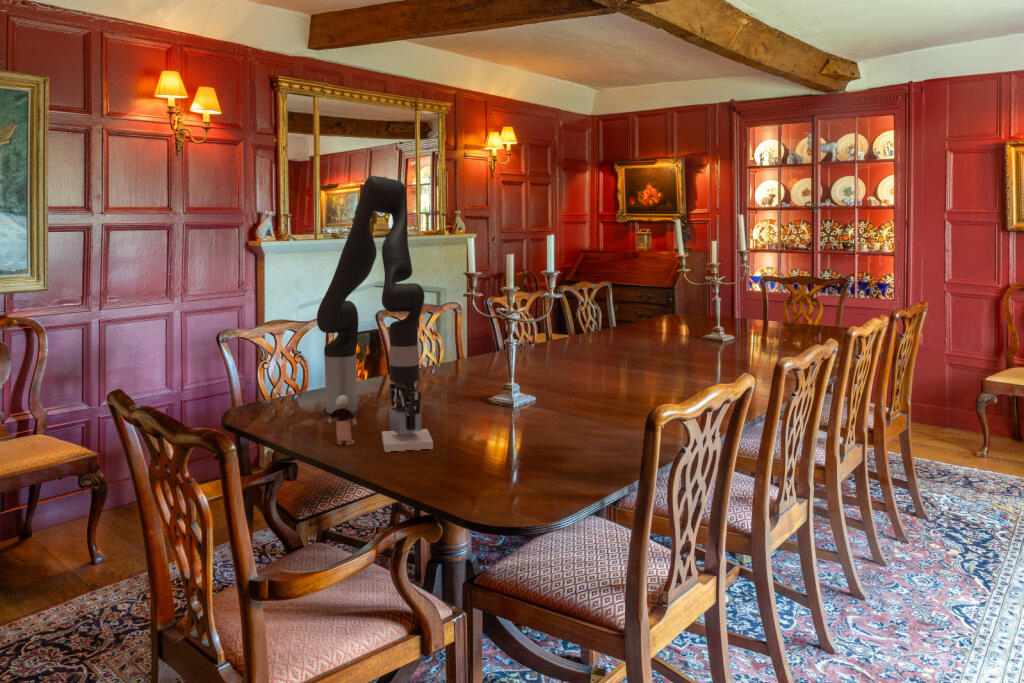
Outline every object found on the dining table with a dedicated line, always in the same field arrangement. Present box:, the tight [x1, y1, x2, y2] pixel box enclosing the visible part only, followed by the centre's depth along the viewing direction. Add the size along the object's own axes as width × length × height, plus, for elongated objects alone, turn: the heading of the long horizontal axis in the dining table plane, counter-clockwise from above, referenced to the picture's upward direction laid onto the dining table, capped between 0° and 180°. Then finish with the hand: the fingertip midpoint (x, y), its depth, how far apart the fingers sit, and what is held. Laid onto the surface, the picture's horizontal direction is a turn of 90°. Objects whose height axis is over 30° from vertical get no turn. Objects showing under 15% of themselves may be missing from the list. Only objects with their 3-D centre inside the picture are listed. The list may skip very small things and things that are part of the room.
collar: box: [388, 406, 422, 434], centre depth 193 cm, size 6×6×6 cm
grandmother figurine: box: [327, 395, 358, 446], centre depth 194 cm, size 8×4×13 cm, turn 92°
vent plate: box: [381, 428, 434, 453], centre depth 194 cm, size 12×12×8 cm
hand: (405, 426), depth 194 cm, fingers closed on collar, 6 cm apart
